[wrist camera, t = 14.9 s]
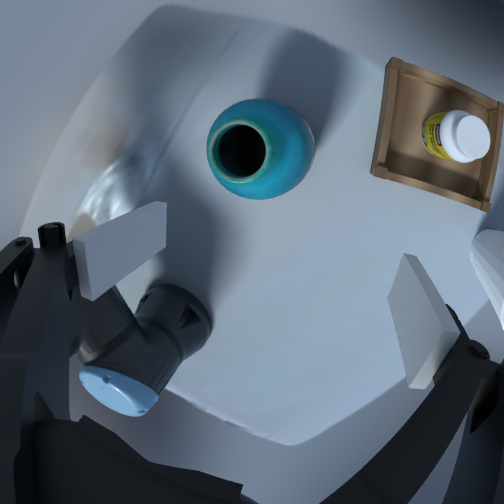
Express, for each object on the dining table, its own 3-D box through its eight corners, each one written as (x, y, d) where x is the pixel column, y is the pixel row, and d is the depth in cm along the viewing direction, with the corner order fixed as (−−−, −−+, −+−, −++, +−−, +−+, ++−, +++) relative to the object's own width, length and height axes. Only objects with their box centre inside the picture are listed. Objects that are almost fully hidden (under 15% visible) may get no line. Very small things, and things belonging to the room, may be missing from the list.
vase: (302, 194, 40) (281, 237, 23) (233, 169, 41) (164, 193, 24) (327, 124, 35) (327, 107, 18) (255, 101, 36) (196, 73, 19)
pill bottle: (411, 124, 31) (440, 119, 21) (444, 107, 29) (480, 99, 19) (431, 164, 32) (465, 175, 22) (463, 147, 30) (503, 153, 20)
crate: (369, 172, 36) (375, 176, 32) (385, 65, 30) (392, 56, 25) (474, 205, 33) (488, 213, 29) (491, 107, 26) (506, 105, 22)
